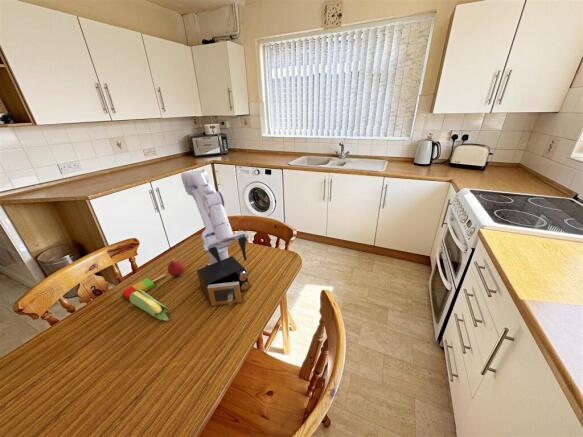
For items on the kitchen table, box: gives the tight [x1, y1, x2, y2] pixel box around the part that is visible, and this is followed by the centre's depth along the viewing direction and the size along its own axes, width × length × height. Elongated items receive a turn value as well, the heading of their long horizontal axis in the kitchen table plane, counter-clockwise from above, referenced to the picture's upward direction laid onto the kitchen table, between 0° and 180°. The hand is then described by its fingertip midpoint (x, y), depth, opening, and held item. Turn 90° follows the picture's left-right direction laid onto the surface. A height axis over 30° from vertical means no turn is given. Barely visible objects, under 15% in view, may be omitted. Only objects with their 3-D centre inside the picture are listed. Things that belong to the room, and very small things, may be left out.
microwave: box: [196, 255, 250, 301], centre depth 87 cm, size 12×14×8 cm
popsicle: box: [122, 273, 167, 301], centre depth 91 cm, size 6×15×2 cm, turn 143°
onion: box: [167, 258, 185, 277], centre depth 94 cm, size 6×6×8 cm
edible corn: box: [128, 290, 171, 322], centre depth 79 cm, size 5×20×5 cm, turn 59°
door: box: [207, 281, 243, 307], centre depth 78 cm, size 6×10×8 cm, turn 98°
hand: (234, 264), depth 78 cm, fingers open, 7 cm apart
